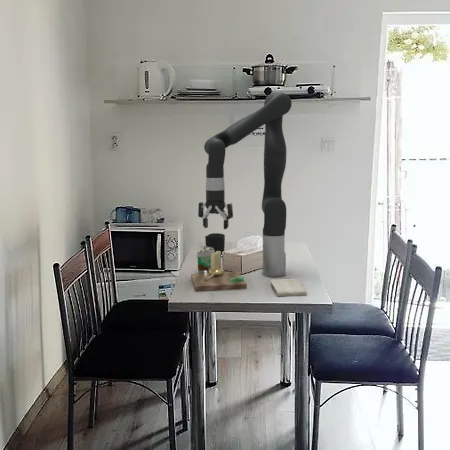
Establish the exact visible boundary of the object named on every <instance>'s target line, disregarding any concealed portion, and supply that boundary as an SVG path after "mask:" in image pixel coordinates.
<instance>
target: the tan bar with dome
mask: <svg viewBox="0 0 450 450" xmlns="http://www.w3.org/2000/svg"><path fill="white" fill-rule="evenodd" d="M223 272H224V268H222V257H221V251H216V252H214V253H213V254H211V268H210V269H209V275H211V276H209V277H208V278H207V271H206V270H205V271H204V281H207V280H209V279H211V278H212V277H214V276H221V275H223Z"/></svg>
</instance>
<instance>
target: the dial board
mask: <svg viewBox="0 0 450 450" xmlns="http://www.w3.org/2000/svg"><path fill="white" fill-rule="evenodd" d="M209 276H211V275H209V273H207V278H208V277H209ZM190 277H191V278H190V279H191V281H192V285H193V288H194V291H195V292H211V291H214V292H215V291H230V290H231V291H232V290H234V291H235V290H247V287H248V286H247V282H246V281H245V278H244V276H242V274H241V273H240V272H239V271H226V272H224V271H223V275H221V276H214V277H212V278H211V279H209V280H207V281H204V273H198V272H197V273H190Z"/></svg>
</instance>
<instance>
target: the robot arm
mask: <svg viewBox="0 0 450 450" xmlns="http://www.w3.org/2000/svg"><path fill="white" fill-rule="evenodd" d="M292 104H293V103H292V99H291V97H290V96H289V95H288V94H287V93H284V92H272V93H270V94H268V95H267V96H266V97H265V100H264V103H263V106H262V107H260V108H259V109H258V110H256V111H255V112H252V113H250V114H248V115H247V116H245V117H243V118H241V119H239V120H237V121H235V122H234V123H233V124H231V125H230V126H228V127H227V128H226V129H224V130H223V131H221V132H218V133H216V134H215V135H213V136H212V137H209V138H208V139H207V140H206V142H205V143H204V146H203V149H204V151H205V153H206V154H207V156H208V157H207V158H208V159H207V160H208V161H207V164H206V166H205V167H206V168H205V177H206V178H205V202H204V201H200V202H198V218H202V226H203V228H204V229H207V228H208V227H209V218H208V217H209V216H210V215H214V214H215V215H220V217H222V218H223V230H227V229H228V228H229V220H230V219H232V218H234V211H233V209H234V208H233V203H232V202H230V203H226V201H225V197H226V196H225V189H226V188H225V176H224V175H225V173H224V172H225V169H224V165H225V159H226V149H227V148H228V147H230V146H233V145H236V144H237V143H239V142H240V141H242V140H243V139H244V138H247V137H248V136H249V135H251V134H252V133H253V132H255V131H256V130H258V129H259V128H261V127H263V126H265V127H264V128H265V129H264V145H263V146H264V147H263V148H264V149H263V175H264V176H263V179H264V182H263V183H264V184H263V193H262V200H261V210H262V212H263V215H264V216H263V220H264V221H263V228H262V275H263V276H265V277H270V278H271V277H272V278H276V277H284V276H286V275H287V274H286V267H287V266H286V265H287V261H286V260H287V253H286V252H285V249H286V247H285V243H286V242H285V239H286V238H285V237H286V236H285V235H286V234H285V233H286V227H287V205H286V203H285V201H284V200H283V197H282V183H283V179H284V174H285V170H286V166H287V144H286V139H285V136H284V131H283V117H284V115H287V114H288V113H289V112H290V110H291V108H292ZM205 208H206V210H204V209H205ZM225 208H226V210H227V211H226V210H225ZM204 211H205V212H204Z"/></svg>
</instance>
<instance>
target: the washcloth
mask: <svg viewBox="0 0 450 450" xmlns="http://www.w3.org/2000/svg"><path fill="white" fill-rule="evenodd" d="M270 287H271V288H272V289H271V290H272V291H273V293H274V294H275V296H276V297H301V296H304V297H305V296H307V295H308V292H307V290H306V288H305V287H304V286H303V284H302V283H301V280H299V279H298V278H287V279H285V278H275V279H274V278H272V279H270Z"/></svg>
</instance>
